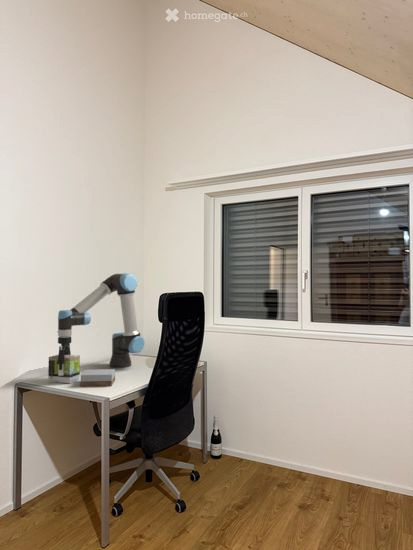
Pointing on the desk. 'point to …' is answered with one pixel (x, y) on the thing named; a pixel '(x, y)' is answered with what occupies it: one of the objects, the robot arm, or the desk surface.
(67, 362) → the tea box
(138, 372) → the desk surface
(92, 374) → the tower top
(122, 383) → the desk surface
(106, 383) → the tower base
